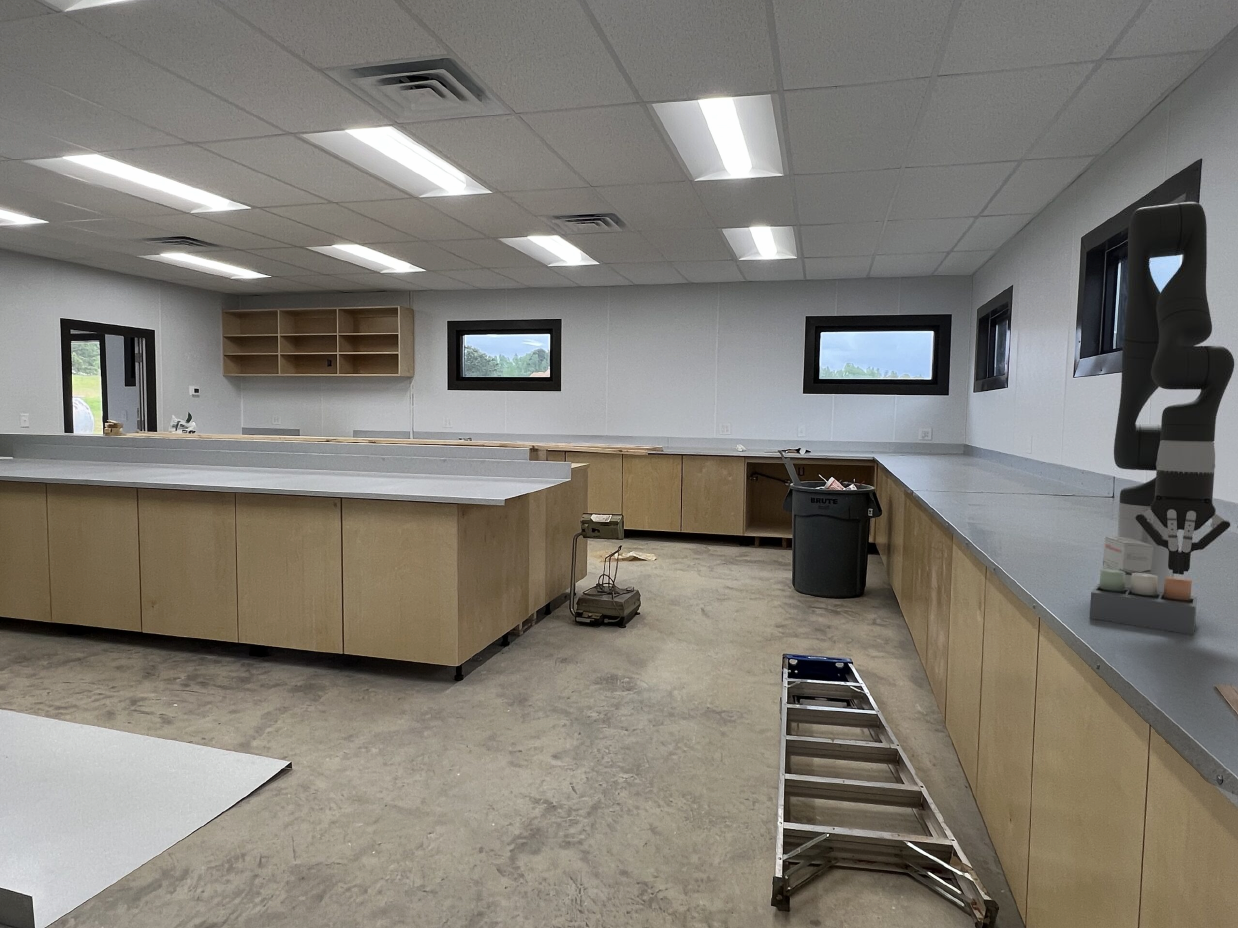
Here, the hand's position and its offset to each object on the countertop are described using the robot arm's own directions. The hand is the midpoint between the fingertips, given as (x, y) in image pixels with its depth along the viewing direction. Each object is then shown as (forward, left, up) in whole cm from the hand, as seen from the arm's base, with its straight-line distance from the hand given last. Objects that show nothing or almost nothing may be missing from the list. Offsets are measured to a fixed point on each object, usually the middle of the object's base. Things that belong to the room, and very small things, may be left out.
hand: (1178, 573), depth 121 cm
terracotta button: (0, 0, -4) cm, 4 cm away
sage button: (+5, -8, -4) cm, 10 cm away
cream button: (+2, -4, -4) cm, 6 cm away
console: (+2, -4, -9) cm, 10 cm away
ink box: (-7, -14, -9) cm, 18 cm away
